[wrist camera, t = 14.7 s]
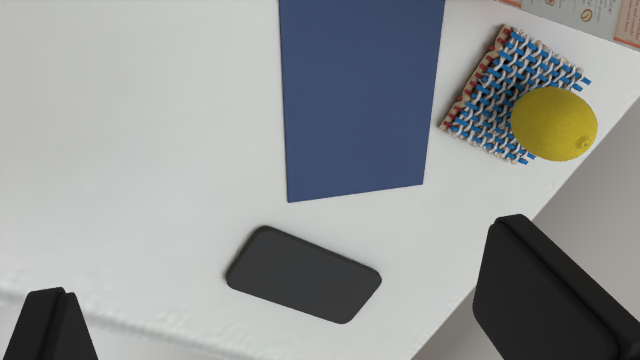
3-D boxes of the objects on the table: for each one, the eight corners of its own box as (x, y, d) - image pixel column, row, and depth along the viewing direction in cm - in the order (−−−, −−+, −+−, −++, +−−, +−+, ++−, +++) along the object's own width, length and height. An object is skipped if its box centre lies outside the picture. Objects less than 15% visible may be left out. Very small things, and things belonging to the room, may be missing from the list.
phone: (262, 226, 43) (386, 277, 50) (261, 221, 44) (384, 272, 51) (221, 286, 46) (346, 327, 52) (221, 280, 46) (344, 321, 53)
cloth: (278, -10, 35) (279, -10, 34) (445, -18, 37) (447, -18, 37) (288, 201, 44) (288, 203, 44) (421, 183, 46) (422, 184, 46)
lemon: (500, 75, 40) (564, 111, 34) (557, 72, 41) (630, 107, 35) (486, 136, 43) (543, 181, 36) (540, 132, 44) (605, 174, 38)
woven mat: (501, 16, 40) (516, 22, 38) (582, 69, 44) (598, 75, 43) (432, 125, 43) (442, 134, 42) (513, 163, 48) (525, 173, 46)
